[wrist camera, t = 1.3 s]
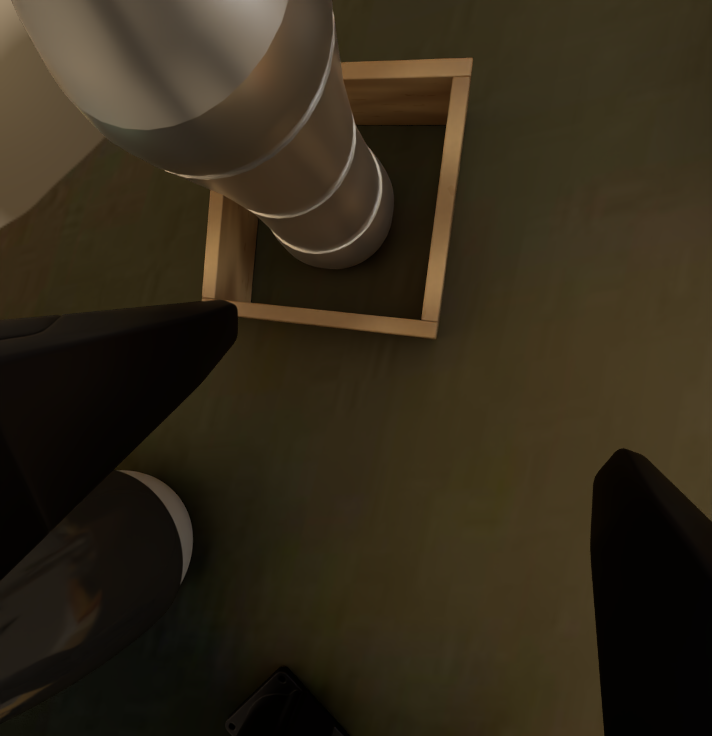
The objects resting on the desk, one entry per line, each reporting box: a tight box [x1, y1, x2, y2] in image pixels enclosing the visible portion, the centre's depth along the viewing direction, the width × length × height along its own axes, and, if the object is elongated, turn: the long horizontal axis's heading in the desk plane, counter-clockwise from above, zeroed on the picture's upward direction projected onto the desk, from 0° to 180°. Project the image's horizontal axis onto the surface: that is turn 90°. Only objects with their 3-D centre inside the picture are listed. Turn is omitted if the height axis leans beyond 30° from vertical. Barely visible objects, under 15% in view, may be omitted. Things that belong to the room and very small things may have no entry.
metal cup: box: [12, 0, 394, 269], centre depth 13 cm, size 6×7×20 cm
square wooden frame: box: [202, 58, 473, 340], centre depth 21 cm, size 13×13×4 cm
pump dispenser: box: [0, 470, 193, 724], centre depth 20 cm, size 10×10×15 cm
